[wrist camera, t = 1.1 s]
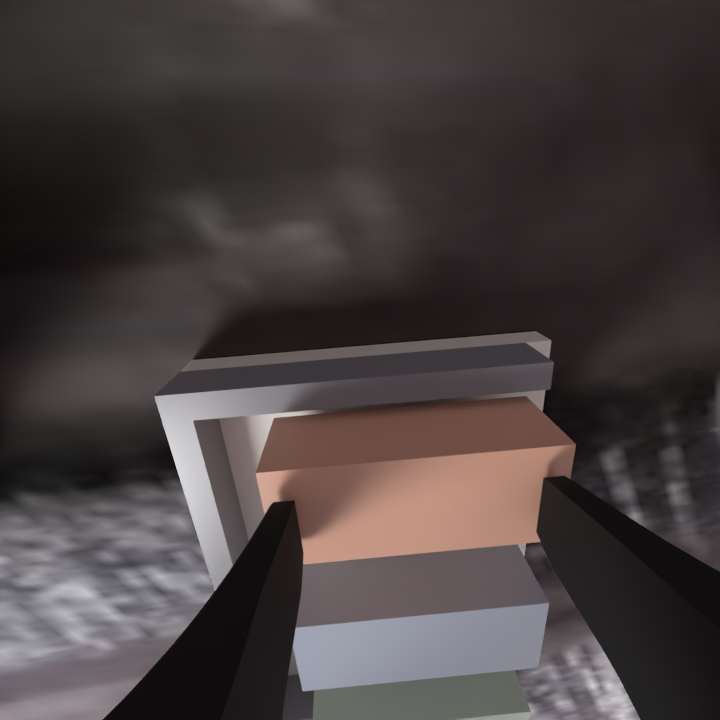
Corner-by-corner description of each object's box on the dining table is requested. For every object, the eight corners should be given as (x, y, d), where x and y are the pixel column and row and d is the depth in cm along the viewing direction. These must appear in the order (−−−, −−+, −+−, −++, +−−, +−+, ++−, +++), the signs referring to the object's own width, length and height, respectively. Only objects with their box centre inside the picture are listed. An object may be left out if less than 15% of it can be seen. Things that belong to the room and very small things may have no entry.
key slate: (505, 592, 17) (538, 667, 14) (309, 611, 17) (302, 691, 14) (511, 533, 15) (548, 602, 13) (298, 553, 15) (289, 628, 13)
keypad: (502, 641, 22) (529, 712, 19) (270, 664, 22) (258, 740, 19) (536, 331, 15) (587, 361, 12) (192, 360, 15) (151, 399, 12)
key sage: (496, 679, 19) (522, 758, 16) (324, 696, 19) (321, 779, 16) (501, 634, 18) (530, 711, 15) (316, 652, 18) (311, 734, 15)
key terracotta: (517, 477, 14) (559, 540, 12) (288, 498, 14) (275, 567, 11) (526, 396, 13) (576, 444, 10) (274, 418, 13) (255, 473, 10)
